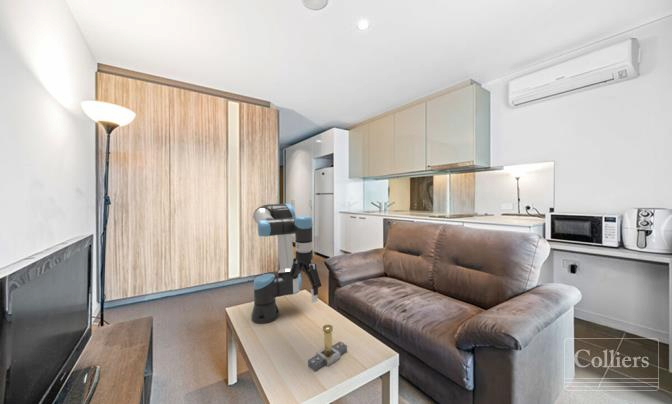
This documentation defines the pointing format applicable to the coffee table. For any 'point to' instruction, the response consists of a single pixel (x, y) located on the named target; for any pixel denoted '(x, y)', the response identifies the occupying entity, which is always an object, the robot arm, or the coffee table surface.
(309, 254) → the robot arm
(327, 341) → the pin
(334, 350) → the chain joint
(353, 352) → the coffee table surface
